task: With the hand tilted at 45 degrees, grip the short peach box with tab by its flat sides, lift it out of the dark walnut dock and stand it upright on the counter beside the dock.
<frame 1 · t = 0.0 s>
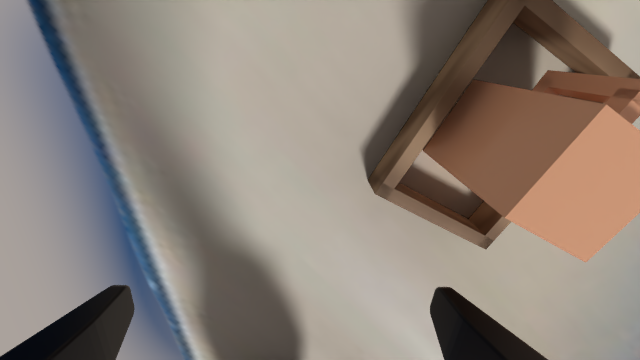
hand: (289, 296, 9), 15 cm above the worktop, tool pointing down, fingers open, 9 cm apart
dock: (481, 129, 23), on the worktop
peach box with tab: (476, 135, 23), resting in dock
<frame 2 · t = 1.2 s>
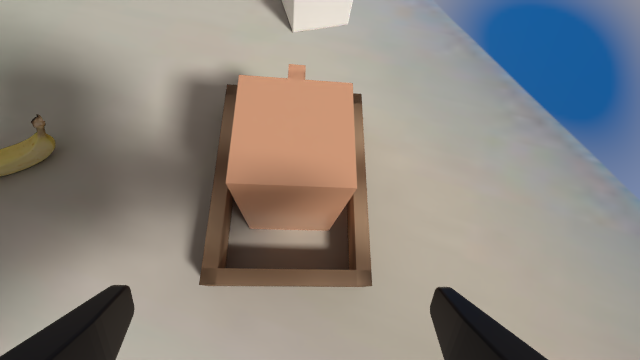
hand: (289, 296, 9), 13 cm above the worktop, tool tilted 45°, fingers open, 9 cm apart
milk: (312, 9, 32), on the worktop
dock: (291, 186, 24), on the worktop
peach box with tab: (291, 192, 24), resting in dock
banana: (21, 165, 23), on the worktop
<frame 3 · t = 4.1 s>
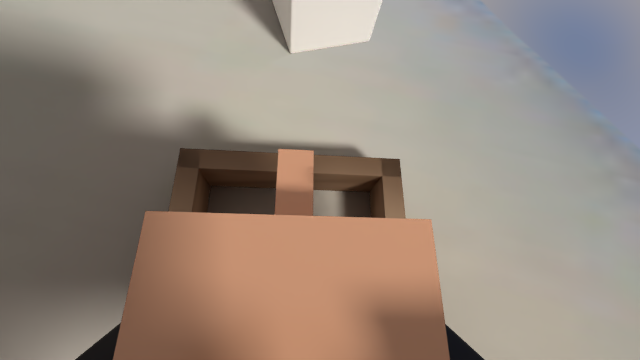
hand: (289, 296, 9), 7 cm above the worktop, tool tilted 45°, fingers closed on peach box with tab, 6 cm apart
milk: (318, 19, 22), on the worktop
dock: (287, 315, 15), on the worktop
peach box with tab: (286, 326, 15), resting in dock, touching gripper
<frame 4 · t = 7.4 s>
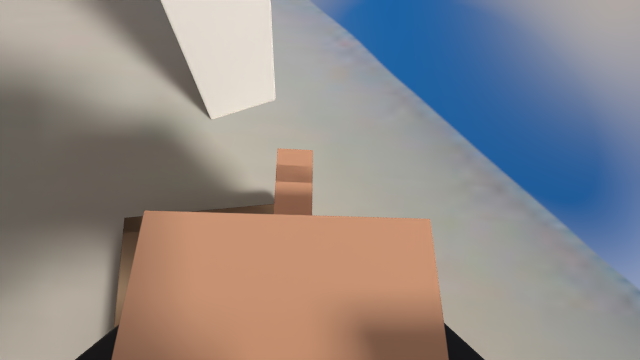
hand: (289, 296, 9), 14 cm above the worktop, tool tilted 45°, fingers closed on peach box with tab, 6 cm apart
milk: (233, 85, 28), on the worktop
dock: (220, 327, 20), on the worktop
peach box with tab: (286, 326, 15), point 7 cm above the worktop, touching gripper
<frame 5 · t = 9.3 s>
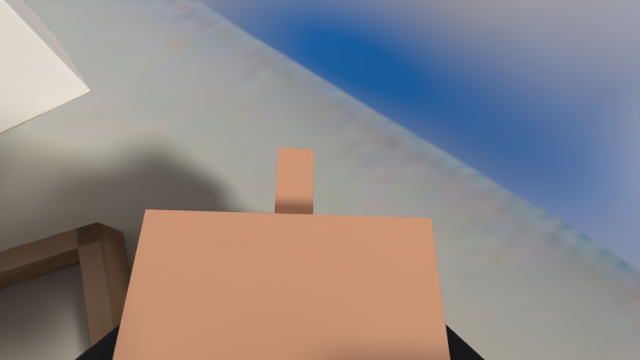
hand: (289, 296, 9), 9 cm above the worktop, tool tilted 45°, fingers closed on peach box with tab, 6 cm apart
milk: (30, 84, 21), on the worktop
peach box with tab: (286, 326, 15), point 3 cm above the worktop, touching gripper
when the fingers open (7 cm above the worktop, at t = 10.6 s): peach box with tab stays where it is, on the worktop.
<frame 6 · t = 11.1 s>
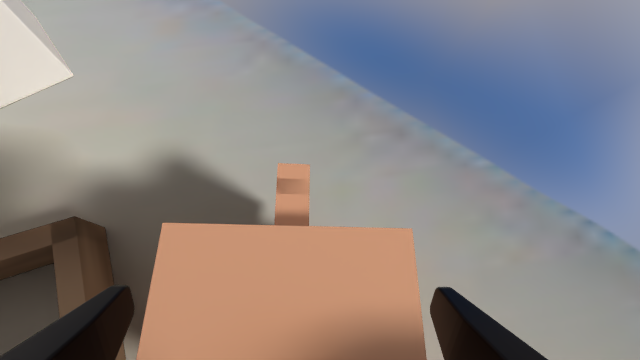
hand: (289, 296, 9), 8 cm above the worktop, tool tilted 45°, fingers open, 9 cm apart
milk: (9, 68, 19), on the worktop
peach box with tab: (286, 324, 15), on the worktop
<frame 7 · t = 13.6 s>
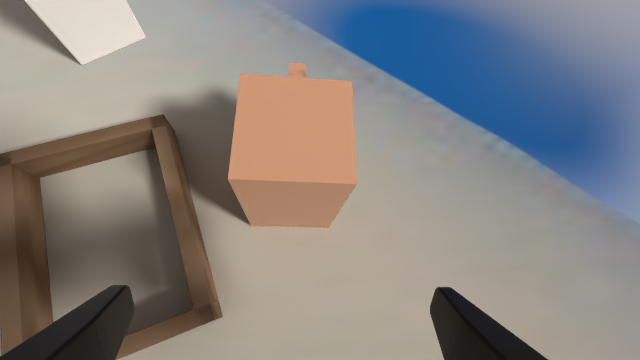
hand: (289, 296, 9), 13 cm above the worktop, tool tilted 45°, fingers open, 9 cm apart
milk: (101, 32, 28), on the worktop
dock: (118, 239, 21), on the worktop
peach box with tab: (291, 190, 24), on the worktop
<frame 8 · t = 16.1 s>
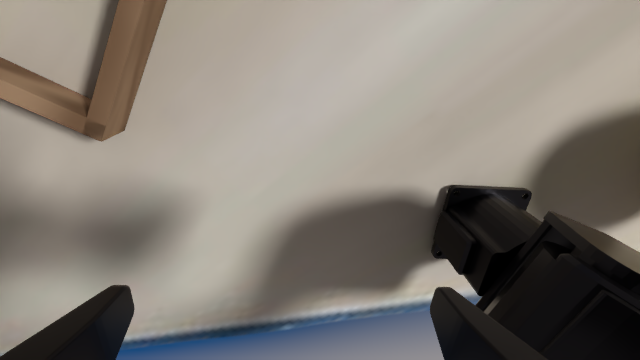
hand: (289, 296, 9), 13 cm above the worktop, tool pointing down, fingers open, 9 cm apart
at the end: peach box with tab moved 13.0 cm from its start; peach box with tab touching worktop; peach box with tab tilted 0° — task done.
